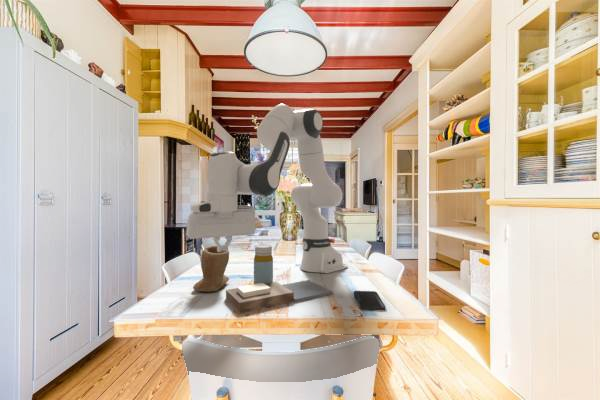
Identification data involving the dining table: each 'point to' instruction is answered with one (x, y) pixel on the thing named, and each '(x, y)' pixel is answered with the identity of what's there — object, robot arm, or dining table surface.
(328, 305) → the dining table surface
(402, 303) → the dining table surface
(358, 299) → the phone
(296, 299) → the mat
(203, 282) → the stone cup
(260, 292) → the tile
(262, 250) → the bottle
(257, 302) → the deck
